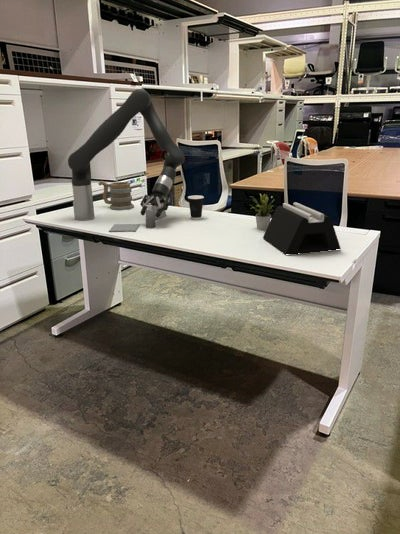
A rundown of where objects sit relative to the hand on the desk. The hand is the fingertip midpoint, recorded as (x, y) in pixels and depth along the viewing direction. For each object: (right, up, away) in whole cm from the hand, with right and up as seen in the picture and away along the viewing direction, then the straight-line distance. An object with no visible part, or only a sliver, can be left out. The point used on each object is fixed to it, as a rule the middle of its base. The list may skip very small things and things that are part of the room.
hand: (149, 215), depth 193 cm
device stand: (+63, -15, -26) cm, 70 cm away
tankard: (-24, +10, +46) cm, 53 cm away
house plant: (+51, -6, -2) cm, 52 cm away
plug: (0, -5, +3) cm, 6 cm away
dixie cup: (+22, 0, +17) cm, 28 cm away
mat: (-12, -6, +1) cm, 13 cm away
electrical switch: (+2, +1, +20) cm, 21 cm away
